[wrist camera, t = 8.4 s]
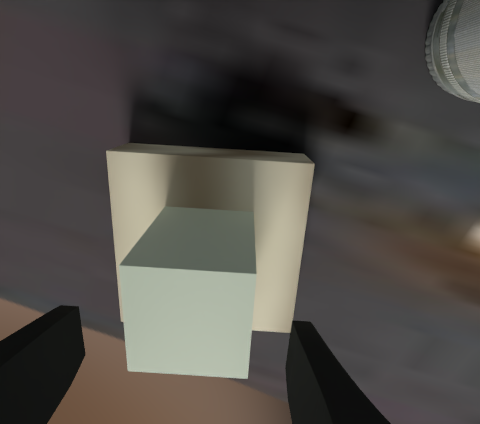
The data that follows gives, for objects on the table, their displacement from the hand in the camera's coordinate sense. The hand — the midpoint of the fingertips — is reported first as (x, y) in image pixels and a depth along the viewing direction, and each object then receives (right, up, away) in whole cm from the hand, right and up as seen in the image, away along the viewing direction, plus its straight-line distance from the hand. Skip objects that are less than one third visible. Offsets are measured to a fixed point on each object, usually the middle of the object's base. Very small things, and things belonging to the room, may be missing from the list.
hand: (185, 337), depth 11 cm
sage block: (0, +2, +6) cm, 6 cm away
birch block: (0, +3, +9) cm, 9 cm away
